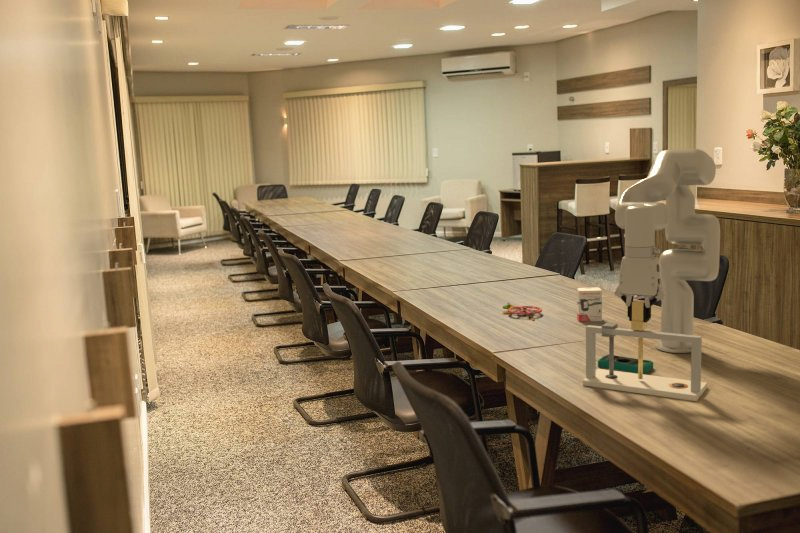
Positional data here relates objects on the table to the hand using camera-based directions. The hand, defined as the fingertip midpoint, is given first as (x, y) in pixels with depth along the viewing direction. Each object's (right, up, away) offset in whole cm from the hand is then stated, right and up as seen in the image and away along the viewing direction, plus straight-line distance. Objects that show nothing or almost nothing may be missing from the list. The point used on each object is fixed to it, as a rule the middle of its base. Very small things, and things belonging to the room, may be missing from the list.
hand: (639, 320), depth 211 cm
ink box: (+6, -6, +81) cm, 82 cm away
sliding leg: (+1, -16, +3) cm, 17 cm away
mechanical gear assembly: (-16, -4, +99) cm, 100 cm away
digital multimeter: (+2, -16, +22) cm, 27 cm away
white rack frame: (+2, -18, +4) cm, 19 cm away
